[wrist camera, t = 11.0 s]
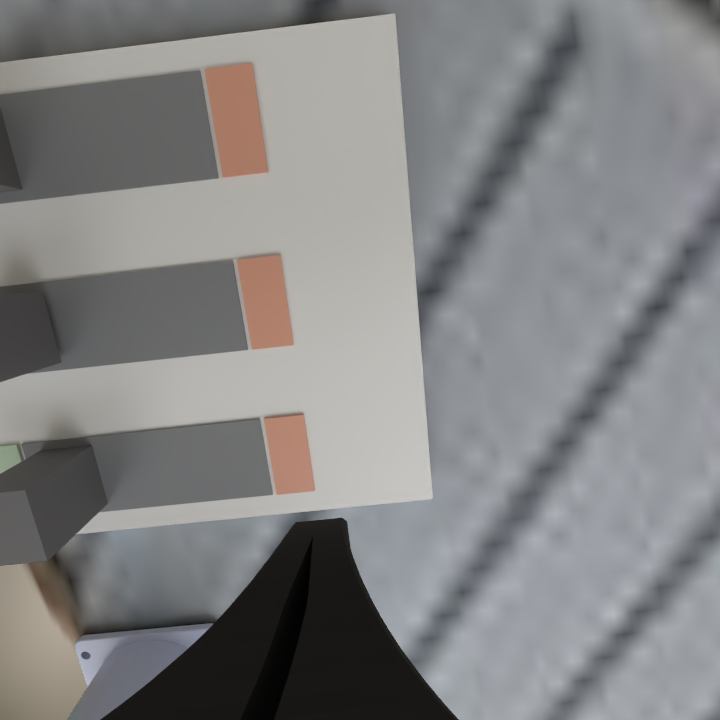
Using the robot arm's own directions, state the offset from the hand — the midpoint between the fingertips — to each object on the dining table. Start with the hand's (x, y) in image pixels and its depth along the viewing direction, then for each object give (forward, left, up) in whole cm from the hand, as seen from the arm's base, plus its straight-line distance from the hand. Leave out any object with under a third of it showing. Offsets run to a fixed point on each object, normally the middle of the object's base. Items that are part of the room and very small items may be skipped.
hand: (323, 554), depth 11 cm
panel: (+6, +9, -10) cm, 15 cm away
